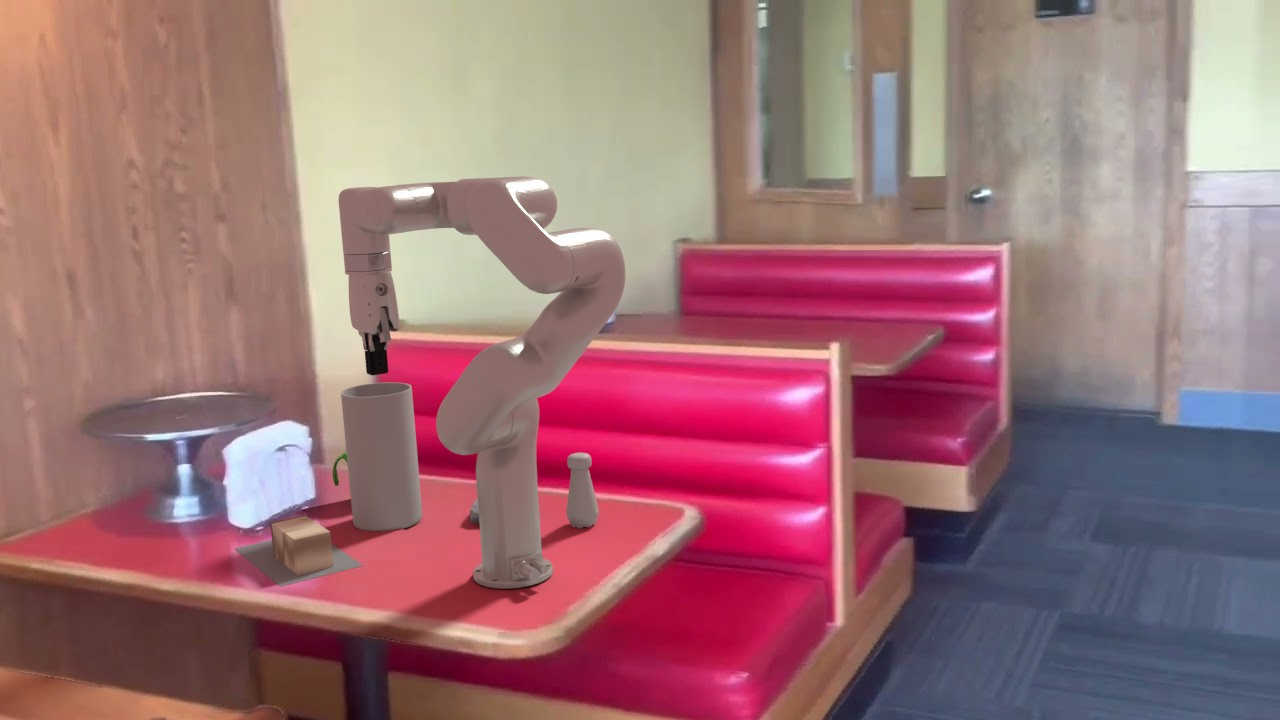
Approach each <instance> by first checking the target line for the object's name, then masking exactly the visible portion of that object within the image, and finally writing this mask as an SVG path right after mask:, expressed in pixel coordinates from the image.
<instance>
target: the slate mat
mask: <svg viewBox="0 0 1280 720" xmlns="http://www.w3.org/2000/svg"><path fill="white" fill-rule="evenodd" d="M234 550H235V551H236V552H238V553H239V554H240V555H241V556H243V557H244V558H245V560H247V561H248V562H249V563H251V564H252V565H254V566H255V567H256V568H257V569H258V570H260V572H262V574H264V575H266V576H267V577H268V578H269V579H270V580H272V581H273V582H274V583H275V584H276V585H278V587H284V586H289V585H293V584H296V583H297V584H298V583H300V582H305V581H309V580H312V579H316V578H320V577H324V576H329V575H333V574H336V573H341V572H344V571H348V570H352V569H356V568H357V569H358V568H361V567H364V565H363V564H362V563H360V562H359V561H358V560H356V559H354V558H353V557H351V556H350V555H349V554H347V553H346V552H344V551H343V550H341V549H340V548H339V547H338V546H335V545H334V544H332V554H333V564H334V567H330V568H326V569H322V570H318V571H314V572H310V573H306V574H301V575H297V574H296V573H295V572H293V571H292V570H291V569H290V568H288V567H287V566H286V565H284V564H283V563H282V562H281V561H279V560H278V559H277V558H275V557H274V552H273V543H272V539H270V540H266V541H261V542H256V543H252V544H249V545H248V544H247V545H244V546H239V547H235V548H234Z"/></svg>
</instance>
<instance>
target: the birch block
mask: <svg viewBox="0 0 1280 720" xmlns="http://www.w3.org/2000/svg"><path fill="white" fill-rule="evenodd" d="M269 524H270V532H271V540H272V543H273V552H274V557H275V558H277V559H278V560H279V561H281V562H282V563H283V564H284V565H286V566H287V567H288V568H290V569H291V570H292V571H293V572H295V573H296V574H297V575H301V574H306V573H310V572H314V571H318V570H322V569H326V568H330V567H334V564H333V554H332V545H333V544H332V535H331V531H330V530H328V529H327V528H326V527H324V526H322V525H321V524H319V523H318V522H316V521H314V520H313V519H311V517H308V516H307V515H305V514H303V515H299V516H294V517H290V518H286V519H280V520H276V521H272V522H270V523H269Z"/></svg>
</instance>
